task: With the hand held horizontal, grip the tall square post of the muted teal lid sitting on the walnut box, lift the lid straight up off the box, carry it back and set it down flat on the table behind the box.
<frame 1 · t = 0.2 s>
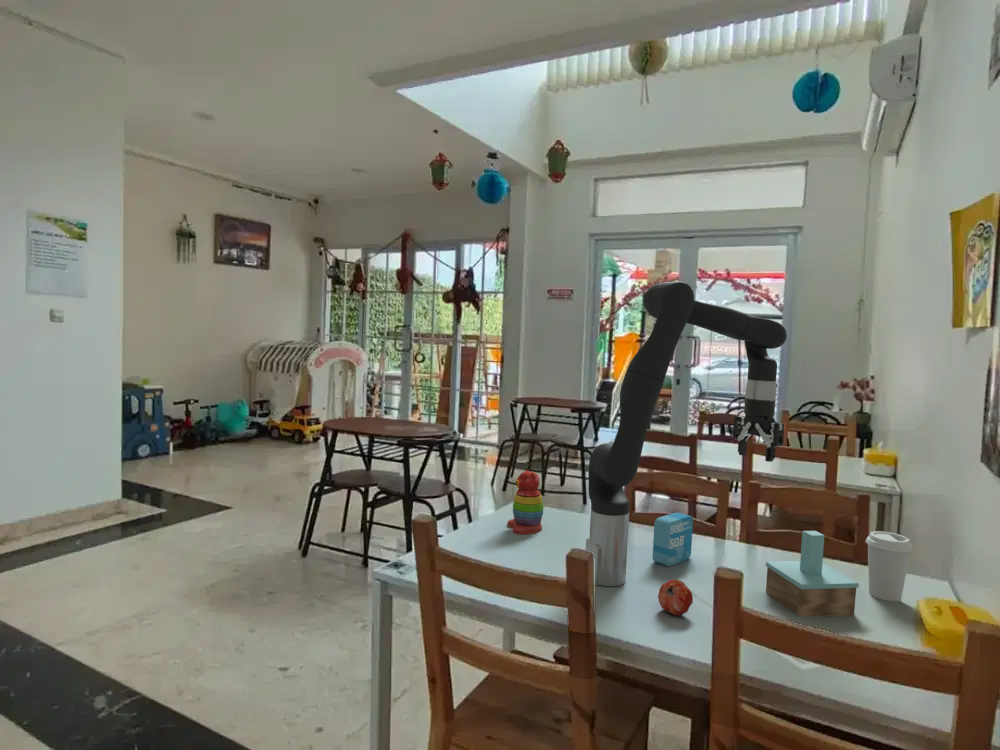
hand: (755, 458, 168), 29 cm above the table, tool pointing down, fingers open, 8 cm apart
lid: (809, 579, 144), point 6 cm above the table, touching box
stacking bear: (526, 529, 194), on the table
pomegranate: (674, 613, 139), on the table
data package: (671, 561, 171), on the table
coffee cup: (884, 599, 150), on the table
ball b: (811, 599, 146), point 1 cm above the table, touching box
box: (808, 606, 144), on the table
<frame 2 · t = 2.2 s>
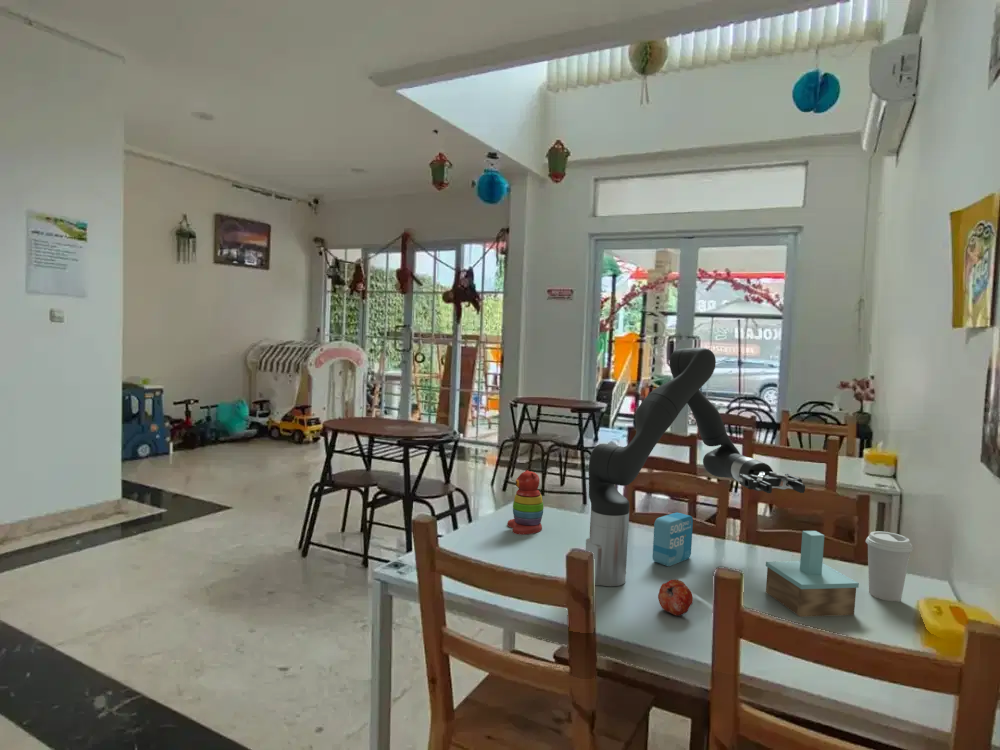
hand: (787, 489, 153), 24 cm above the table, tool horizontal, fingers open, 8 cm apart
nothing on the table moved.
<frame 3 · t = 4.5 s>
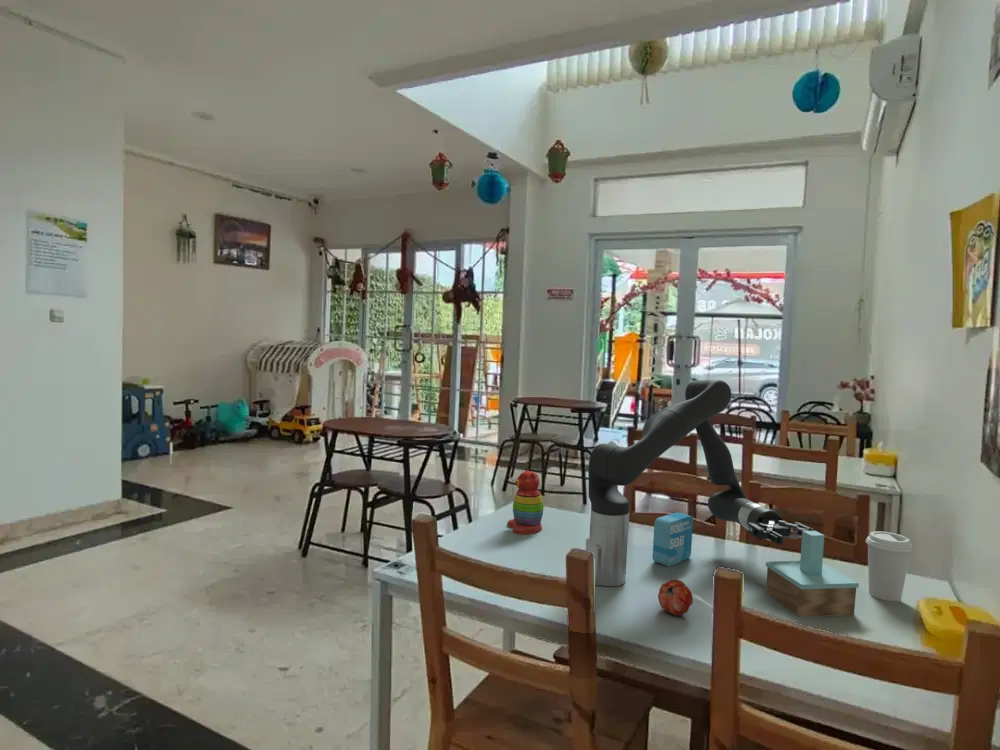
hand: (798, 540, 149), 13 cm above the table, tool horizontal, fingers open, 8 cm apart
nothing on the table moved.
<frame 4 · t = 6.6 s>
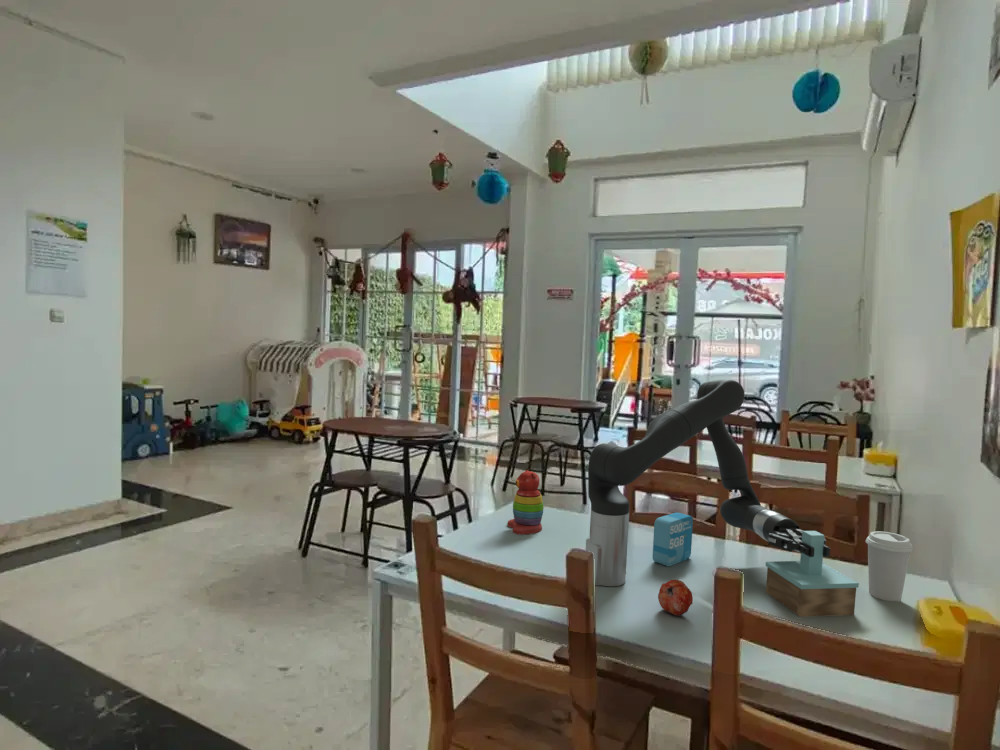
hand: (820, 552, 141), 14 cm above the table, tool horizontal, fingers closed on lid, 3 cm apart
lid: (809, 579, 144), point 6 cm above the table, touching box, gripper
everything else where it was.
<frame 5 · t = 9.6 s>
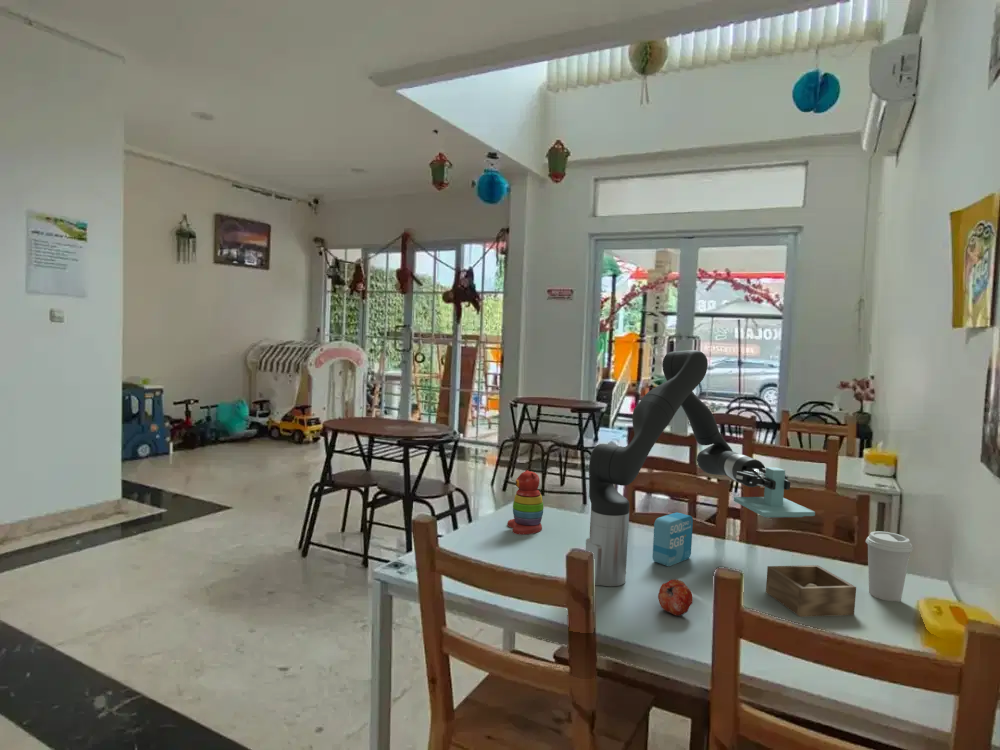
hand: (781, 485, 156), 25 cm above the table, tool horizontal, fingers closed on lid, 3 cm apart
lid: (772, 511, 159), point 17 cm above the table, touching gripper
everything else where it was.
when the fingers open (9 cm above the table, at t = 12.8 s): lid drops 1 cm, on the table.
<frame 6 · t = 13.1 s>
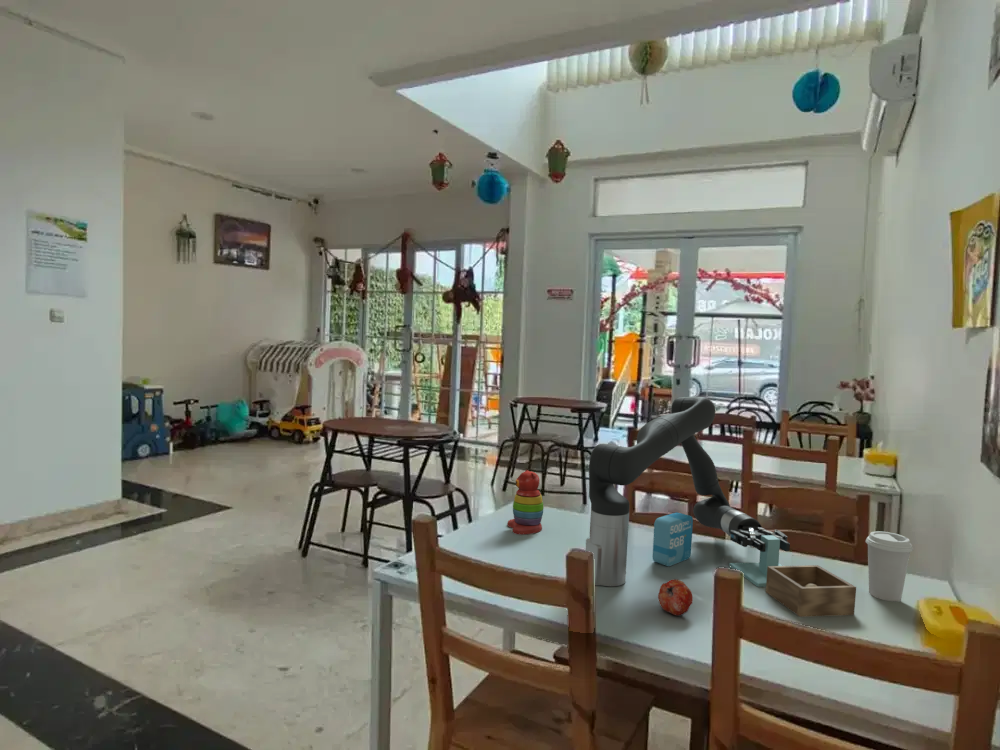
hand: (776, 547, 157), 9 cm above the table, tool horizontal, fingers open, 6 cm apart
lid: (767, 579, 160), on the table
everything else where it was.
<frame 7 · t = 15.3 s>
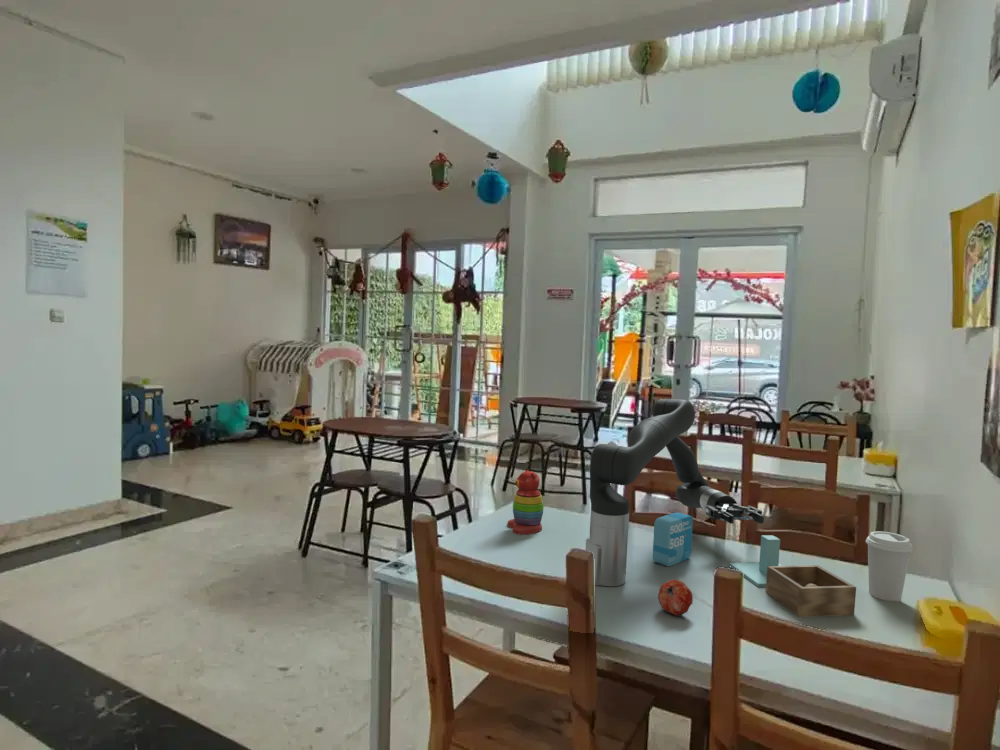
hand: (747, 520, 170), 12 cm above the table, tool horizontal, fingers open, 8 cm apart
nothing on the table moved.
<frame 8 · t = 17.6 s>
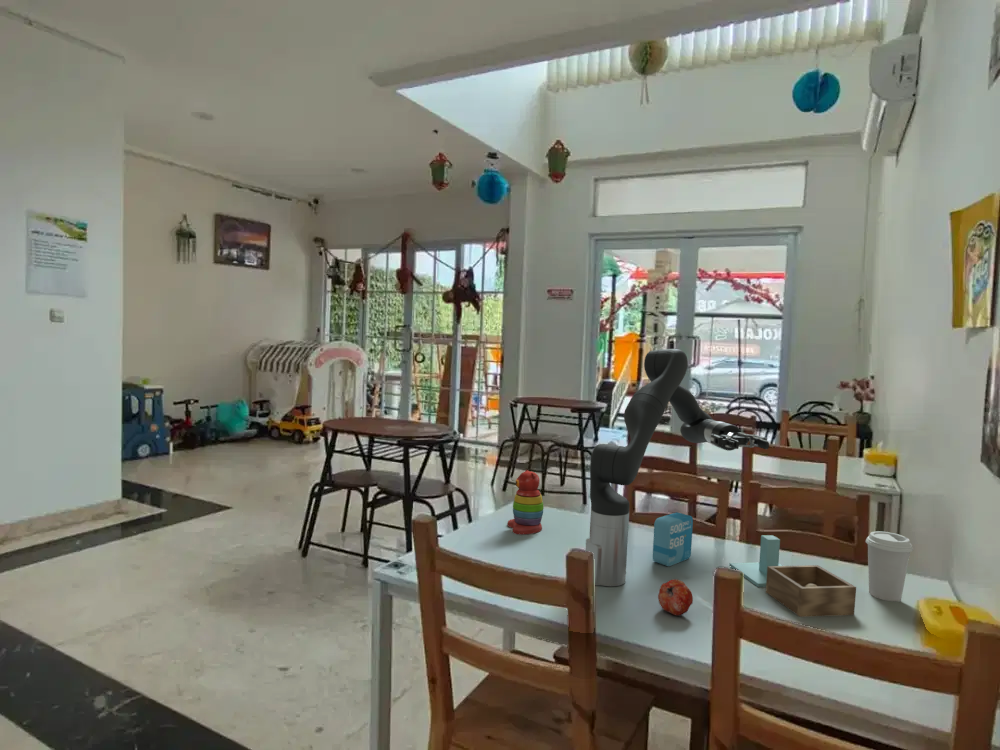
hand: (752, 445, 169), 32 cm above the table, tool horizontal, fingers open, 8 cm apart
nothing on the table moved.
at the end: lid inside the target area (0.1 cm from its centre), on the table; lid tilted 0°; lid touching table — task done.
